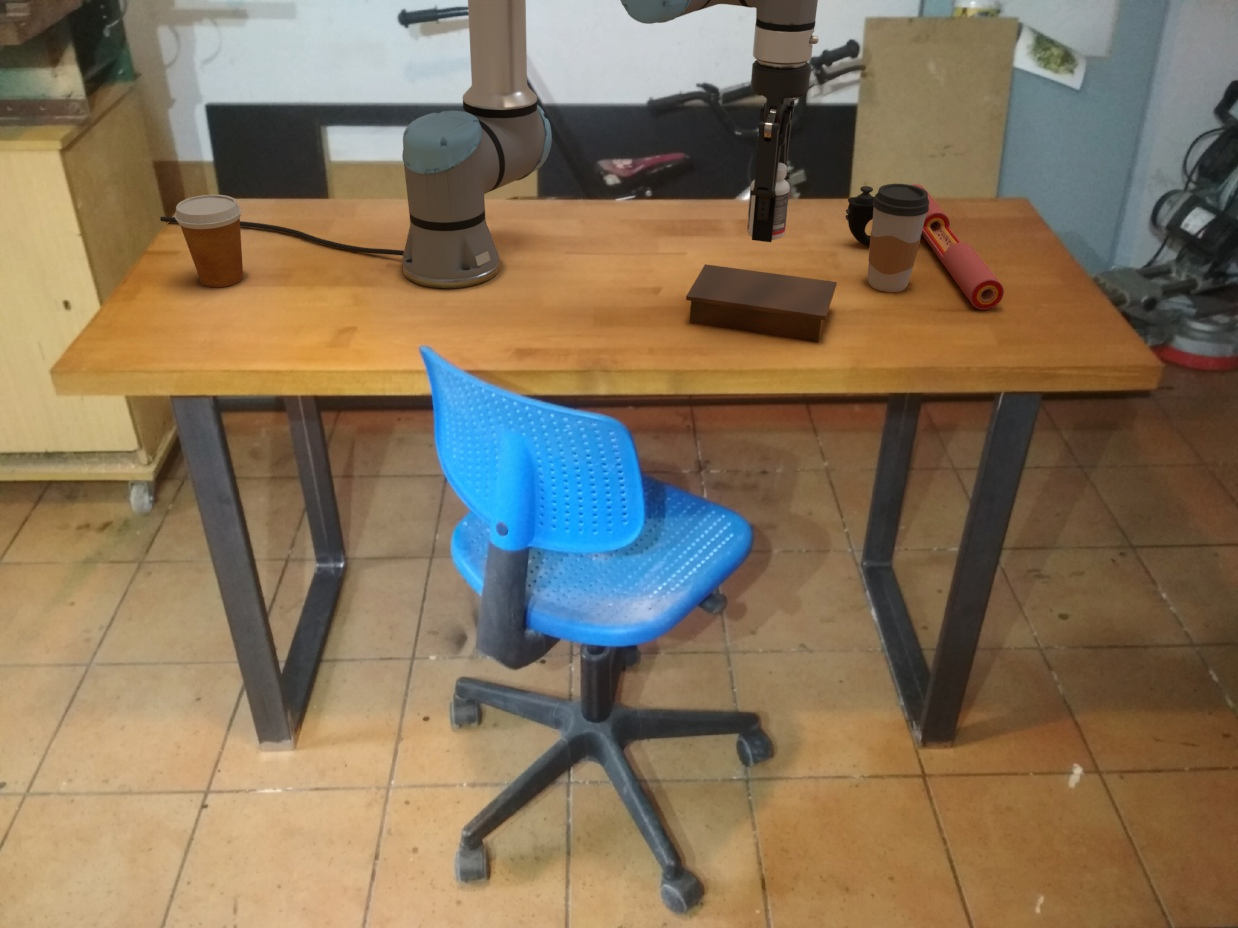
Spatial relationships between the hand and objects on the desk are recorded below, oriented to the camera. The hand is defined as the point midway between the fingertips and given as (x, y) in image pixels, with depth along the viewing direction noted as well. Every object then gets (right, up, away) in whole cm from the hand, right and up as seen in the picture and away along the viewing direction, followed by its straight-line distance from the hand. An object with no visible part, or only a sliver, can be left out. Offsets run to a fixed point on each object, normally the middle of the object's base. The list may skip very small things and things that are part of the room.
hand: (765, 232), depth 150 cm
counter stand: (0, -11, +7) cm, 13 cm away
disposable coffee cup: (-82, -4, +15) cm, 84 cm away
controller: (+23, +4, +31) cm, 39 cm away
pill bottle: (0, 0, 0) cm, 1 cm away
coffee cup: (+22, -5, +18) cm, 28 cm away
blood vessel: (+34, +2, +28) cm, 44 cm away
